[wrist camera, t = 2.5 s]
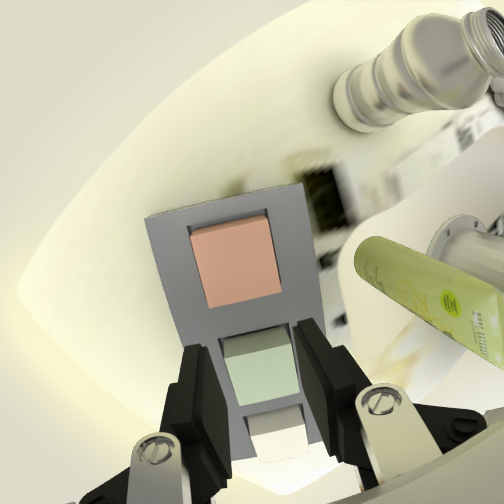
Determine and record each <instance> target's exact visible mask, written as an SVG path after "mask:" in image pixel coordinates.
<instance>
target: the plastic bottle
mask: <svg viewBox="0 0 504 504" xmlns="http://www.w3.org/2000/svg"><path fill="white" fill-rule="evenodd" d="M492 77H494V78H503V77H504V17H503V15H502V14H501V13H499V12H498V11H497V10H495V9H493V8H491V7H487V8H483V9H481V10H479V11H476V12H470V13H468V14H466V15H464V16H463V17H462V20H460V19H457V18H454V17H451V16H447V15H442V14H436V13H431V14H426V15H421V16H418V17H416V18H415V19H413V20H412V21H411V22H410V23H409V24H408V25H407V26H406V27H405V28H404V29H403V30H402V32H401V33H400V34H399V35H398V36H397V37H396V39H395V40H394V41H393V42H392V43H391V44H390V45H389V46H388V47H387V48H386V49H385V50H384V51H382V52H381V53H380V54H379V55H378V56H377V57H375V58H373V59H371V60H370V61H368V62H366V63H364V64H361V65H358V66H355V67H353V68H351V69H349V70H347V71H345V72H344V73H343V74H342V75H341V76H340V78H339V79H338V81H337V83H336V85H335V87H334V90H333V103H334V107H335V109H336V112H337V114H338V115H339V117H340V118H341V119H342V121H343V122H344V123H345V124H346V125H348V126H349V127H350V128H352V129H354V130H356V131H359V132H366V133H374V132H379V131H382V130H384V129H386V128H387V127H389V126H391V125H392V124H393V123H395V122H396V121H397V120H399V119H401V118H404V117H406V116H408V115H410V114H414V113H419V112H424V111H430V110H458V109H465V108H469V107H471V106H472V105H474V104H475V103H476V102H478V101H479V100H480V99H482V97H483V96H484V94H485V92H486V91H487V89H488V87H489V85H490V83H491V80H492Z"/></svg>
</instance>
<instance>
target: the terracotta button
mask: <svg viewBox="0 0 504 504" xmlns="http://www.w3.org/2000/svg"><path fill="white" fill-rule="evenodd" d="M190 239H191V243H192V247H193V251H194V255H195V258H196V262H197V266H198V270H199V274H200V277H201V281H202V285H203V288H204V292H205V296H206V299H207V303H208V306H209V308H214V307H218V306H223V305H227V304H232V303H236V302H241V301H245V300H250V299H254V298H258V297H263V296H267V295H271V294H275V293H279V292H282V290H281V285H280V280H279V275H278V269H277V264H276V259H275V254H274V249H273V244H272V239H271V234H270V229H269V224H268V219H267V218H266V217H264V216H263V215H262V214H261V215H256V216H252V217H247V218H243V219H238V220H234V221H229V222H225V223H220V224H216V225H212V226H207V227H203V228H199V229H195V230H194V231H193V232H192V234H191V236H190Z"/></svg>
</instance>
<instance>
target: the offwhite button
mask: <svg viewBox="0 0 504 504" xmlns="http://www.w3.org/2000/svg"><path fill="white" fill-rule="evenodd" d="M248 424H249V431H250V437H251V440H252V443H253V445H254V448H255V451H256V454H257V456H258V459H259V462H260V464H261V465H262V464H267V463H272V462H276V461H281V460H285V459H290V458H294V457H298V456H301V455H305V454H309V447H308V440H307V434H306V428H305V423H304V420H303V417H302V414H301V411H300V409H299V406H298V404H296V405H292V406H289V407H284V408H280V409H276V410H272V411H267V412H263V413H258V414H254V415H249V416H248Z"/></svg>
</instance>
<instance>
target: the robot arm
mask: <svg viewBox="0 0 504 504" xmlns="http://www.w3.org/2000/svg"><path fill="white" fill-rule="evenodd" d="M426 255H427V256H429V257H431V258H434V259H436V260H438V261H441V262H443V263H445V264H447V265H450V266H452V267H454V268H456V269H458V270H461V271H463V272H465V273H467V274H469V275H471V276H473V277H476V278H478V279H480V280H482V281H484V282H486V283H488V284H490V285H492V286H494V287H495V288H497V289H498V290H499V291H501V292H502V293H504V238H503V237H499V236H496V235H492V234H489V233H487V231H486V229H485V227H484V225H483V224H482V223H481V222H480V221H479V220H478V219H477V218H475V217H473V216H469V215H457V216H454V217H452V218H450V219H448V220H447V221H446V222H445V223H444V224H442V226H441V227H440V228H439V229H438V231H437V232H436V234H435V235H434V237H433V239H432V241H431V243H430V246H429V248H428V250H427V254H426ZM292 329H293V335H294V341H295V347H296V353H297V359H298V365H299V371H300V377H301V383H302V388H303V391H304V394H305V396H306V399H307V401H308V404H309V406H310V409H311V411H312V414H313V417H314V419H315V422H316V424H317V427H318V429H319V432H320V434H321V437H322V439H323V442H324V444H325V447H326V449H327V452H328V454H329V456H330V457H331V456H334V455H335V456H336V458H337V461H338V463H341V462H344V463H347V464H351V465H354V469H355V472H356V475H357V479H358V482H359V486H360V488H361V493H359V494H356V495H353V496H350V497H347V498H344V499H341V500H338V501H335V502H331V503H328V504H504V407H502V408H497V409H493V410H488V411H486V412H485V415H481V414H480V413H478V412H476V411H474V410H468V409H458V408H448V407H439V406H438V407H437V406H429V405H422V404H415V403H412V402H411V401H410V399H409V397H408V396H407V394H406V393H405V391H404V390H403V389H402V388H400V387H398V386H396V385H393V384H389V383H380V384H375V385H372V383H371V382H370V381H369V379H368V378H367V376H366V375H365V374H364V372H363V371H362V369H361V368H360V367H359V365H358V364H357V363H356V361H355V360H354V358H353V357H352V356H351V354H350V353H349V351H348V350H347V349H346V347H345V346H344V345H341V346H337V347H334V348H332V346H331V345H330V343H329V342H328V340H327V339H326V337H325V336H324V334H323V333H322V331H321V330H320V328H319V327H318V325H317V323H316V322H315V320H314V319H313V318H308V319H304V320H300V321H297V326H293V327H292ZM231 478H232V468H231V453H230V438H229V421H228V407H227V402H226V399H225V396H224V394H223V391H222V388H221V385H220V382H219V380H218V377H217V374H216V371H215V368H214V365H213V362H212V359H211V356H210V353H209V350H208V348H207V346H204V347H202V345H201V344H200V343H198V344H193V345H188V346H185V347H184V352H183V357H182V362H181V368H180V373H179V378H178V383H171V384H170V385H169V387H168V392H167V396H166V401H165V406H164V411H163V415H162V420H161V425H160V431H159V432H157V433H153V434H149V435H147V436H145V437H143V438H142V439H140V440H139V441H138V442H137V443H136V445H135V446H134V448H133V451H132V456H131V465H130V467H128V468H127V469H125V470H124V471H122V472H121V473H119V474H118V475H116V476H115V477H113V478H111V479H110V480H108V481H107V482H105V483H104V484H102V485H100V486H99V487H97V488H95V489H94V490H92V491H90V492H89V493H87V494H86V495H85V496H84V497H83V498H82V499H81V500H80V502H79V504H216V501H215V498H214V495H215V494H216V493H217V492H219V491H220V489H222V488H227V479H231ZM67 504H76V503H75V502H71V503H67Z"/></svg>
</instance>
